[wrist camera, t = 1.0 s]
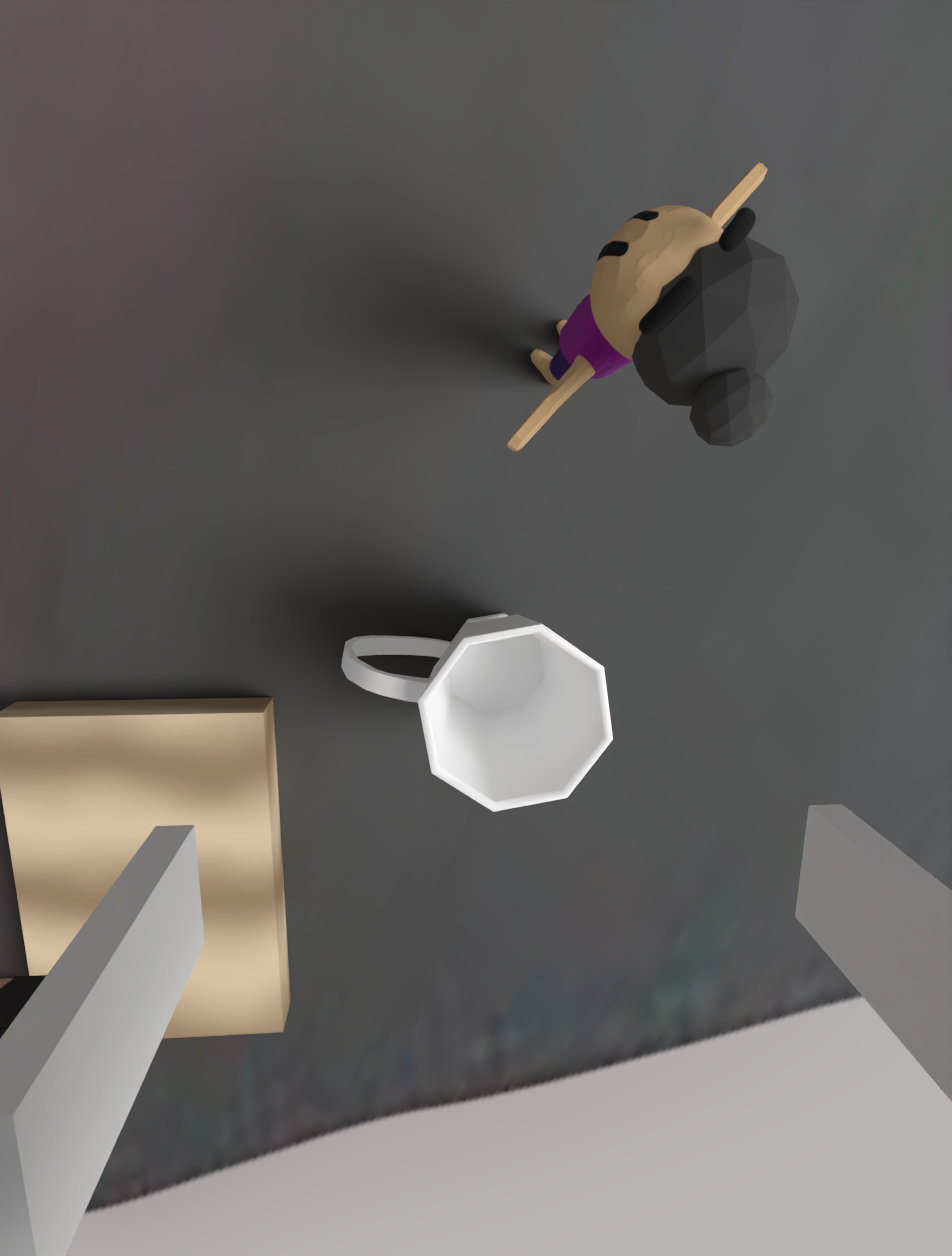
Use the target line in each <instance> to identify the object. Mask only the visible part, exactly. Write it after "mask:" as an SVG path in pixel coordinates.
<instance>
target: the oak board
mask: <svg viewBox="0 0 952 1256" xmlns="http://www.w3.org/2000/svg"><path fill="white" fill-rule="evenodd" d="M0 789H1V796H2V802H3V808H4V815H5V821H6V828H7V834H8V841H9V847H10V853H11V860H12V866H13V873H14V879H15V886H16V892H17V898H18V905H19V911H20V918H21V924H22V930H23V937H24V943H25V950H26V956H27V963H28V969H29V975H30V976H38V975H47V974H48V973H49V971H50V970H51V969H52V967H53V966H54V965H55V963H56V962H57V961H58V959H59V958H60V956H61V955H62V954H63V952H64V951H65V950H66V948H67V947H68V945H69V944H70V943H71V941H72V940H73V939H74V937H75V936H76V934H77V933H78V932H79V930H80V929H81V928H82V926H83V925H84V924H85V922H86V921H87V919H88V918H89V917H90V915H91V914H92V913H93V911H94V910H95V908H96V907H97V906H98V904H99V903H100V902H101V900H102V899H103V898H104V896H105V895H106V893H107V892H108V891H109V889H110V888H111V887H112V885H113V884H114V882H115V881H116V880H117V878H118V877H119V876H120V874H121V873H122V871H123V870H124V869H125V867H126V866H127V865H128V863H129V862H130V861H131V859H132V858H133V856H134V855H135V854H136V852H137V851H138V850H139V848H140V847H141V845H142V844H143V843H144V841H145V840H146V839H147V837H148V836H149V835H150V833H151V832H152V830H153V829H154V828H155V826H173V825H194V826H195V838H196V849H197V860H198V872H199V883H200V895H201V906H202V918H203V929H204V941H205V943H204V946H203V948H202V950H201V952H200V955H199V957H198V959H197V961H196V964H195V966H194V968H193V970H192V972H191V975H190V977H189V979H188V981H187V984H186V986H185V988H184V990H183V993H182V995H181V997H180V999H179V1002H178V1004H177V1006H176V1008H175V1011H174V1013H173V1015H172V1017H171V1019H170V1022H169V1024H168V1026H167V1028H166V1031H165V1033H164V1035H163V1037H162V1039H163V1038H181V1037H199V1036H218V1035H236V1034H254V1033H272V1032H283V1030H284V1026H285V1022H286V1018H287V1013H288V1009H289V1005H290V984H289V967H288V950H287V932H286V915H285V898H284V881H283V864H282V847H281V830H280V813H279V796H278V779H277V762H276V745H275V728H274V711H273V697H269V698H209V699H149V700H90V701H30V702H15V703H13V704H12V705H10V706H8V707H7V708H5V709H3V710H2V711H0Z"/></svg>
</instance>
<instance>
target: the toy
mask: <svg viewBox="0 0 952 1256" xmlns="http://www.w3.org/2000/svg"><path fill="white" fill-rule="evenodd" d="M767 170H768V169H767V168H766V167H765V166H764V165H763V164H761V163H758V164H757V165H756V166H755V167H753V168H752V169H751V170H750V171H748V172H747V173H746V175H745V176H744V177H743V178H742V179H741V180H740V181H739V182H738V183H737V185H736V186H735V187H734V188H733V189H732V190H731V191H730V192H729V193H728V194H727V195H726V197H725V198H724V199H723V200H722V201H721V202H720V203H719V204H718V205H717V206H716V207H715V208H714V209H713V210H712V211H711V213H709V214H708V215H707V216H706V215H705V214H703V213H702V212H700V211H698V210H695V209H692V208H689V207H685V206H675V205H670V206H662V207H658V208H653V209H649V210H646V211H644V212H641V213H638V214H637V215H635V216H633V217H632V218H631V219H630V220H628V221H627V222H626V223H625V224H623V225H622V226H621V227H620V229H619V230H618V231H617V232H616V233H615V234H614V235H613V237H612V238H611V239H610V240H609V241H608V242H607V243H606V244H605V246H604V247H603V249H602V251H601V252H600V255H599V257H598V260H597V262H596V266H595V269H594V273H593V277H592V281H591V288H590V294H589V295H588V296H586V297H585V298H584V299H583V300H582V302H581V303H580V304H579V305H578V306H577V307H576V309H575V310H574V312H573V314H572V315H571V317H570V318H569V320H568V321H567V320H561V321H559V322H558V324H557V325H556V328H557V331H558V333H559V335H560V340H559V344H560V349H559V350H558V351H557V353H556V355H555V356H554V357H552V356H550V355H549V354H547V353H546V352H544V351H542V350H539V349H535V350H533V352H532V353H531V355H530V356H531V360H532V362H533V363H534V365H535V366H536V367H537V368H538V369H539V371H540V372H541V373H542V374H543V376H544V378H545V379H546V380H547V381H548V382H549V383H550V384H552V385H555V386H554V388H553V389H552V390H551V391H550V392H549V393H548V394H547V396H546V397H545V398H544V399H543V400H542V402H541V403H540V404H539V405H538V406H537V407H536V409H535V410H534V411H533V412H532V413H531V414H530V416H529V417H528V418H527V419H526V420H525V421H524V422H523V424H522V425H521V426H520V427H519V428H518V429H517V430H516V431H515V433H514V434H513V435H512V436H511V438H510V439H509V440H508V441H507V443H506V444H507V447H508V448H510V449H511V450H512V451H518V450H520V449H521V448H523V446H524V445H525V444H526V443H527V442H528V441H529V440H530V439H531V438H532V437H533V436H534V434H535V433H536V432H537V431H538V430H539V429H540V428H541V427H542V426H543V425H544V423H545V422H546V421H547V420H548V419H549V418H550V417H551V415H552V414H553V413H554V412H555V411H556V410H557V409H558V408H559V407H560V406H561V405H562V404H563V403H564V402H565V401H566V400H567V399H568V398H569V397H570V396H571V395H572V394H573V393H574V392H575V391H576V390H577V389H578V388H579V387H580V386H581V385H582V384H583V383H584V382H585V381H587V380H588V379H589V378H593V379H599V378H602V377H605V376H608V375H611V374H613V372H615V371H616V370H618V369H619V368H621V367H623V366H625V365H627V364H629V363H630V362H632V361H633V362H634V364H635V367H636V369H637V372H638V373H639V375H640V377H641V379H642V380H643V382H644V384H645V386H646V387H648V388H649V389H650V390H651V391H653V392H654V393H655V394H656V395H658V396H659V397H660V398H661V399H663V400H664V401H665V402H666V403H668V404H669V405H682V406H692V409H691V413H690V417H689V418H690V420H691V422H692V424H693V426H694V429H695V431H696V433H697V435H698V436H699V437H701V438H702V439H703V440H704V441H706V442H707V443H708V444H709V445H717V446H730V447H733V446H735V445H737V444H739V443H741V442H743V441H745V440H747V439H749V438H750V437H751V436H752V435H753V434H754V433H755V432H756V431H757V430H758V429H759V428H760V426H761V425H762V424H763V423H764V422H765V421H766V420H767V418H768V413H769V409H770V405H771V401H772V395H771V392H770V389H769V387H768V384H767V382H766V379H765V378H764V377H763V376H764V375H765V374H766V372H767V371H768V370H769V369H770V368H771V366H772V365H773V364H774V363H775V362H776V360H777V359H778V358H779V357H780V355H781V354H782V353H783V352H784V351H785V349H786V348H787V347H788V343H789V339H790V335H791V331H792V327H793V323H794V319H795V315H796V311H797V307H798V303H799V298H798V295H797V292H796V289H795V286H794V284H793V281H792V278H791V275H790V273H789V270H788V267H787V264H786V261H785V259H784V257H783V256H781V255H780V254H778V253H776V252H774V251H772V250H770V249H769V248H767V247H765V246H763V245H761V244H760V243H758V242H756V241H754V240H752V239H750V238H749V237H747V235H748V234H749V232H750V231H751V229H752V228H753V226H754V223H755V219H756V217H755V213H754V212H753V210H751V209H750V208H747V207H746V208H742V209H740V210H739V211H738V212H737V214H736V216H735V217H734V218H733V220H732V221H731V222H730V224H729V225H728V226H727V227H726V229H725V230H724V231H723V229H722V228H721V227H722V226H723V224H724V223H725V222H726V221H727V220H728V219H729V218H730V217H731V216H732V215H733V214H734V213H735V211H736V210H737V209H738V208H739V207H740V206H741V205H742V203H743V202H744V201H745V200H746V199H747V198H748V197H749V196H750V194H751V193H752V192H753V191H754V190H755V189H756V188H757V187H758V185H759V184H760V183H761V182H762V181H763V178H764V176H765V174H766V172H767Z"/></svg>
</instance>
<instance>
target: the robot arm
mask: <svg viewBox="0 0 952 1256" xmlns="http://www.w3.org/2000/svg"><path fill="white" fill-rule="evenodd" d="M795 917H796V918H797V919H798V920H799V921H800V923H801V924H802V925H803V926H804V927H805V929H806V930H807V931H808V932H809V933H810V934H811V936H812V937H813V938H814V939H815V940H816V942H817V943H818V944H819V945H820V946H821V947H822V949H823V950H824V951H825V952H826V953H827V955H828V956H829V957H830V958H831V959H832V960H833V962H834V963H835V964H836V965H837V966H838V968H839V969H840V970H841V971H842V972H843V973H844V975H845V976H846V977H847V978H848V979H849V981H850V982H851V983H852V984H853V985H854V986H855V988H856V989H857V990H858V991H859V992H860V994H861V995H862V996H863V997H864V998H865V1000H866V1001H867V1002H868V1003H869V1004H870V1005H871V1006H872V1008H873V1009H874V1010H875V1011H876V1013H877V1014H878V1015H879V1016H880V1017H881V1018H882V1020H883V1021H884V1022H885V1023H886V1024H887V1026H888V1027H889V1028H890V1029H891V1030H892V1031H893V1033H894V1034H895V1035H896V1036H897V1037H898V1038H899V1040H900V1041H901V1042H902V1043H903V1044H904V1046H905V1047H906V1048H907V1049H908V1050H909V1051H910V1053H911V1054H912V1055H913V1056H914V1057H915V1059H916V1060H917V1061H918V1062H919V1063H920V1065H921V1066H922V1067H923V1068H924V1069H925V1071H926V1072H927V1073H928V1074H929V1075H930V1076H931V1078H932V1079H933V1080H934V1081H935V1082H936V1083H937V1085H938V1086H939V1087H940V1088H941V1089H942V1091H943V1092H944V1093H945V1094H946V1095H947V1096H948V1098H949V1099H950V1100H951V1101H952V891H951V890H950V889H949V888H947V887H946V886H945V885H944V884H942V883H941V882H940V881H939V880H937V879H936V878H935V877H933V876H932V875H931V874H930V873H928V872H927V871H926V870H925V869H923V868H922V867H921V866H920V865H918V864H917V863H916V862H914V861H913V860H912V859H911V858H909V857H908V856H907V855H906V854H904V853H903V852H902V851H901V850H899V849H898V848H897V847H895V846H894V845H893V844H892V843H890V842H889V841H888V840H887V839H885V838H884V837H883V836H882V835H880V834H879V833H878V832H876V831H875V830H874V829H873V828H871V827H870V826H869V825H868V824H866V823H865V822H864V821H863V820H861V819H860V818H859V817H857V816H856V815H855V814H854V813H852V812H851V811H850V810H849V809H847V808H846V807H845V806H844V805H842V804H838V805H809V809H808V817H807V825H806V833H805V841H804V849H803V857H802V865H801V874H800V882H799V890H798V898H797V906H796V914H795ZM204 943H205V941H204V929H203V918H202V906H201V895H200V883H199V872H198V860H197V849H196V838H195V826H194V825H173V826H155V828H154V829H153V830H152V832H151V833H150V835H149V836H148V837H147V839H146V840H145V841H144V843H143V844H142V845H141V847H140V848H139V850H138V851H137V852H136V854H135V855H134V856H133V858H132V859H131V861H130V862H129V863H128V865H127V866H126V867H125V869H124V870H123V871H122V873H121V874H120V876H119V877H118V878H117V880H116V881H115V882H114V884H113V885H112V887H111V888H110V889H109V891H108V892H107V893H106V895H105V896H104V898H103V899H102V900H101V902H100V903H99V904H98V906H97V907H96V908H95V910H94V911H93V913H92V914H91V915H90V917H89V918H88V919H87V921H86V922H85V924H84V925H83V926H82V928H81V929H80V930H79V932H78V933H77V934H76V936H75V937H74V939H73V940H72V941H71V943H70V944H69V945H68V947H67V948H66V950H65V951H64V952H63V954H62V955H61V956H60V958H59V959H58V961H57V962H56V963H55V965H54V966H53V967H52V969H51V970H50V971H49V973H48V974H47V975H38V976H17V977H15V978H13V979H12V980H11V981H9V982H8V983H7V984H5V985H4V986H3V987H1V988H0V1256H65V1254H66V1252H67V1250H68V1247H69V1245H70V1243H71V1241H72V1239H73V1236H74V1234H75V1232H76V1230H77V1228H78V1225H79V1223H80V1221H81V1219H82V1216H83V1214H84V1212H85V1210H86V1207H87V1205H88V1203H89V1201H90V1198H91V1196H92V1194H93V1192H94V1189H95V1187H96V1185H97V1183H98V1181H99V1178H100V1176H101V1174H102V1172H103V1169H104V1167H105V1165H106V1163H107V1160H108V1158H109V1156H110V1154H111V1151H112V1149H113V1147H114V1145H115V1143H116V1140H117V1138H118V1136H119V1134H120V1131H121V1129H122V1127H123V1125H124V1122H125V1120H126V1118H127V1116H128V1113H129V1111H130V1109H131V1107H132V1104H133V1102H134V1100H135V1098H136V1096H137V1093H138V1091H139V1089H140V1087H141V1084H142V1082H143V1080H144V1078H145V1075H146V1073H147V1071H148V1069H149V1066H150V1064H151V1062H152V1060H153V1057H154V1055H155V1053H156V1051H157V1049H158V1046H159V1044H160V1042H161V1040H162V1037H163V1035H164V1033H165V1031H166V1028H167V1026H168V1024H169V1022H170V1019H171V1017H172V1015H173V1013H174V1011H175V1008H176V1006H177V1004H178V1002H179V999H180V997H181V995H182V993H183V990H184V988H185V986H186V984H187V981H188V979H189V977H190V975H191V972H192V970H193V968H194V966H195V964H196V961H197V959H198V957H199V955H200V952H201V950H202V948H203V946H204Z"/></svg>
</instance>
